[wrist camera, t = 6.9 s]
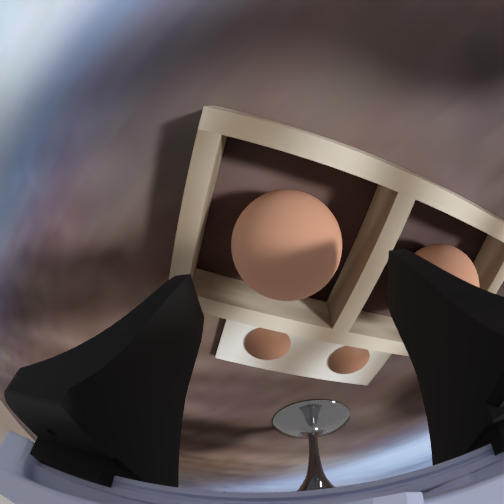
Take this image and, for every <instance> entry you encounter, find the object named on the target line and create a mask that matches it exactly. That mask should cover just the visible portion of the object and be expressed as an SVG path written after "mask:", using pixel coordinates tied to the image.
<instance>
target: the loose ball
mask: <svg viewBox="0 0 504 504" xmlns="http://www.w3.org/2000/svg"><path fill="white" fill-rule="evenodd" d="M231 251H232V257H233V261H234V264H235V267H236V269H237V271H238V273H239V275H240V276H241V278H242V279H243V280H244V282H245V283H246V284H247V285H248V286H249V287H250V288H252V289H253V290H254V291H256V292H257V293H259V294H261V295H263V296H265V297H267V298H270V299H274V300H279V301H295V300H300V299H303V298H306V297H309V296H311V295H313V294H315V293H316V292H318V291H319V290H321V289H322V288H323V287H324V286H325V285H326V284H327V283H328V282H329V281H330V280H331V278H332V277H333V275H334V274H335V272H336V270H337V268H338V265H339V263H340V259H341V255H342V236H341V231H340V228H339V225H338V223H337V221H336V219H335V217H334V215H333V214H332V213H331V211H330V210H329V209H328V207H327V206H326V205H325V204H323V203H322V202H321V201H320V200H318V199H317V198H315V197H313V196H311V195H310V194H307V193H304V192H301V191H297V190H276V191H272V192H269V193H266V194H264V195H261V196H260V197H258V198H256V199H255V200H254V201H252V202H251V203H250V204H249V205H248V206H247V207H246V208H245V209H244V210H243V211H242V213H241V214H240V216H239V218H238V219H237V221H236V224H235V226H234V229H233V233H232V239H231Z"/></svg>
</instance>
